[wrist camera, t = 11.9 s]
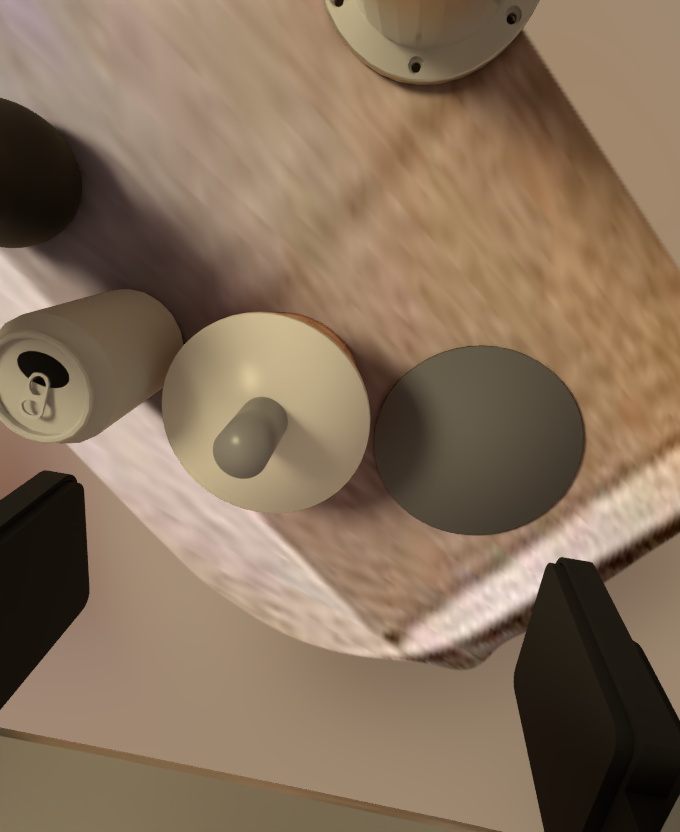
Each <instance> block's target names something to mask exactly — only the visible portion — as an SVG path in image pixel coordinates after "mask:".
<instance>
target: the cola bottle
mask: <svg viewBox="0 0 680 832" xmlns="http://www.w3.org/2000/svg"><path fill="white" fill-rule="evenodd" d="M81 192H82V183H81V175H80V170H79V167H78V163H77V161H76V158H75V156H74V154H73V152H72V150H71V148H70V147H69V145H68V143H67V142H66V141H65V139H64V138H63V137H62V136H61V134H60V133H59V132H58V131H57V130H56V129H55V128H54V127H53V126H52V125H51V124H49V123H48V122H47V121H46V120H44V119H43V118H42V117H40V116H39V115H37V114H36V113H34V112H33V111H31V110H29V109H27V108H26V107H24V106H22V105H19V104H17V103H15V102H12V101H9V100H6V99H3V98H0V247H5V248H22V247H29V246H33V245H37V244H40V243H42V242H45V241H47V240H49V239H51V238H53V237H54V236H56V235H58V234H59V233H60V232H62V231H63V230H64V229H65V228H66V227H67V226H68V225H69V224H70V222H71V221H72V220H73V218H74V216H75V214H76V212H77V210H78V207H79V204H80V200H81Z"/></svg>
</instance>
